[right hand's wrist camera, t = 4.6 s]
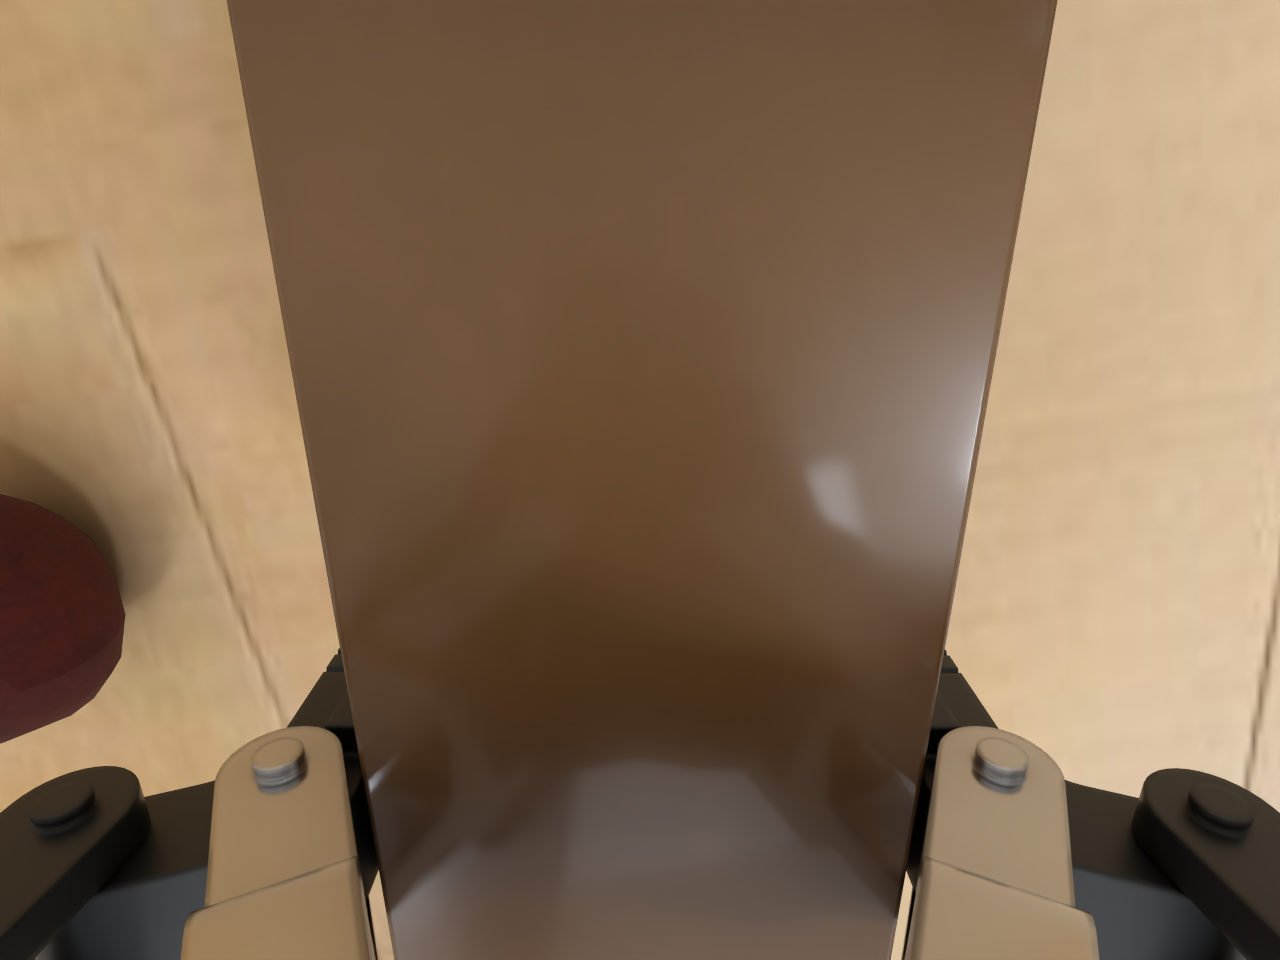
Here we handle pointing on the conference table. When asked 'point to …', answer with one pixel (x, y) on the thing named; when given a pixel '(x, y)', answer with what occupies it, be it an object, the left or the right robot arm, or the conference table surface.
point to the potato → (52, 618)
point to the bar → (642, 439)
